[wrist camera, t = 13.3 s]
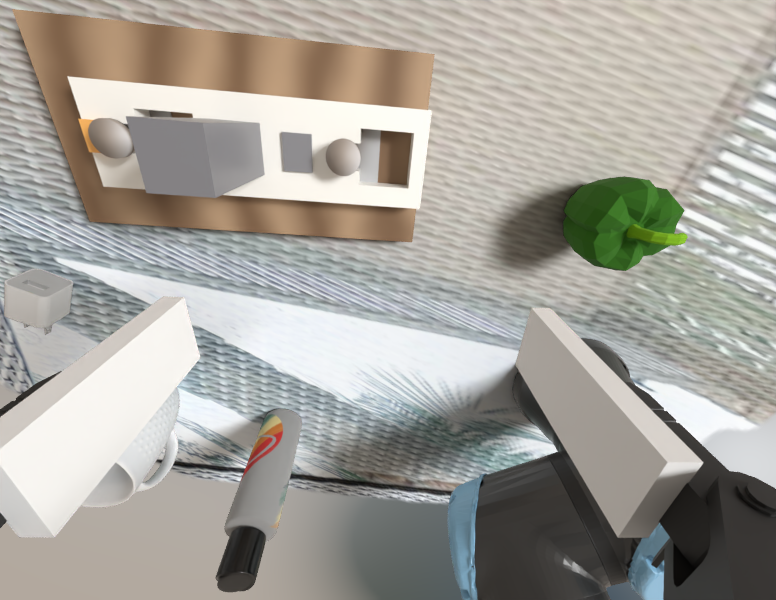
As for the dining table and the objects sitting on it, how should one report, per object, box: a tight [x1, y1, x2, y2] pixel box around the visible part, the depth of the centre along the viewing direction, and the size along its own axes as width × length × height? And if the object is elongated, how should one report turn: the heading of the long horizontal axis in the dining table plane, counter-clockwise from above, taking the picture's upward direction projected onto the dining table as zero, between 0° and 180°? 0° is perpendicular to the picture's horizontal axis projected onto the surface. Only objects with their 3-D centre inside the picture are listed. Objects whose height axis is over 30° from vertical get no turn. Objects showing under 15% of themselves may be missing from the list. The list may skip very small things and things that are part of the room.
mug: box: [81, 387, 180, 508], centre depth 40 cm, size 15×11×13 cm
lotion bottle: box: [216, 409, 302, 592], centre depth 40 cm, size 6×6×20 cm
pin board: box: [12, 9, 434, 242], centre depth 28 cm, size 32×16×6 cm, turn 85°
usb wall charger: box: [4, 269, 73, 335], centre depth 36 cm, size 4×7×4 cm, turn 150°
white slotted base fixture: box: [67, 76, 432, 209], centre depth 24 cm, size 28×8×12 cm, turn 85°
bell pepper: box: [563, 177, 687, 271], centre depth 31 cm, size 8×8×10 cm
